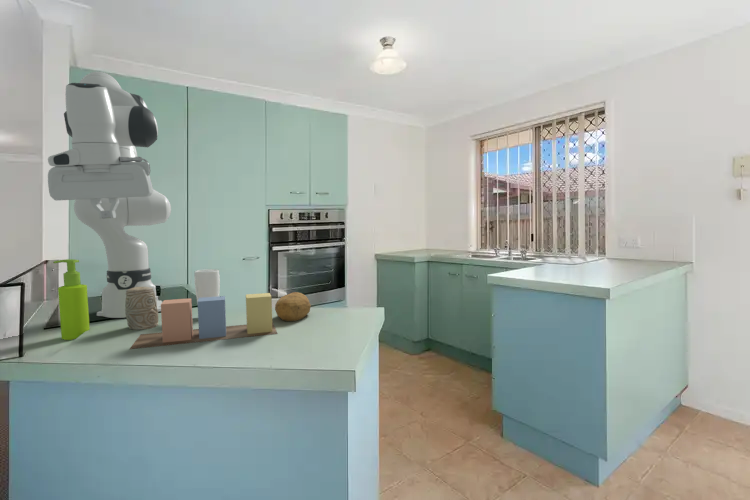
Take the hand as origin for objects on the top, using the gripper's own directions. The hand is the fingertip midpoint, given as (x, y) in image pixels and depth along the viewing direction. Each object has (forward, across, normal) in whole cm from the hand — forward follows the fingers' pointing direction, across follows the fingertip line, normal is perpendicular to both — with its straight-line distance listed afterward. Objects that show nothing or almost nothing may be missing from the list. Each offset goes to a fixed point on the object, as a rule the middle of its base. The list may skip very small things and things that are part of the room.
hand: (107, 218), depth 93 cm
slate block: (+30, -21, +5) cm, 37 cm away
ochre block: (+30, -32, +4) cm, 44 cm away
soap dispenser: (+31, +15, -8) cm, 35 cm away
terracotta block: (+29, -13, +6) cm, 32 cm away
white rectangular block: (+33, -16, -15) cm, 40 cm away
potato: (+34, -40, -8) cm, 53 cm away
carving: (+32, -1, -8) cm, 32 cm away
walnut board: (+31, -20, +4) cm, 37 cm away
